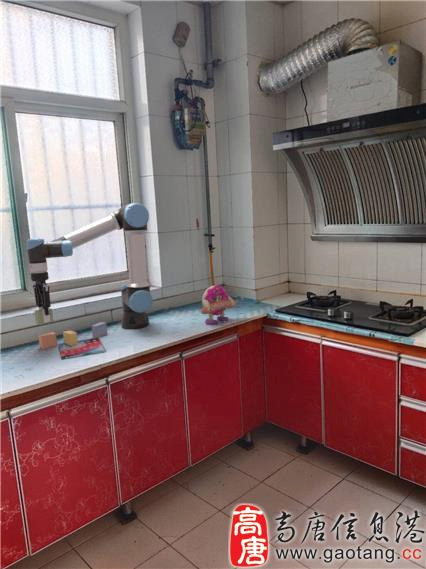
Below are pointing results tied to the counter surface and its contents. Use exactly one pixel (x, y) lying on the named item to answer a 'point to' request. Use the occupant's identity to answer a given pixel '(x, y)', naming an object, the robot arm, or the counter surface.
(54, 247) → the robot arm
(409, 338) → the counter surface
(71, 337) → the mustard brick
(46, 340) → the terracotta brick
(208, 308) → the toy
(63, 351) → the magazine
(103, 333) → the slate brick
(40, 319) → the green brick
